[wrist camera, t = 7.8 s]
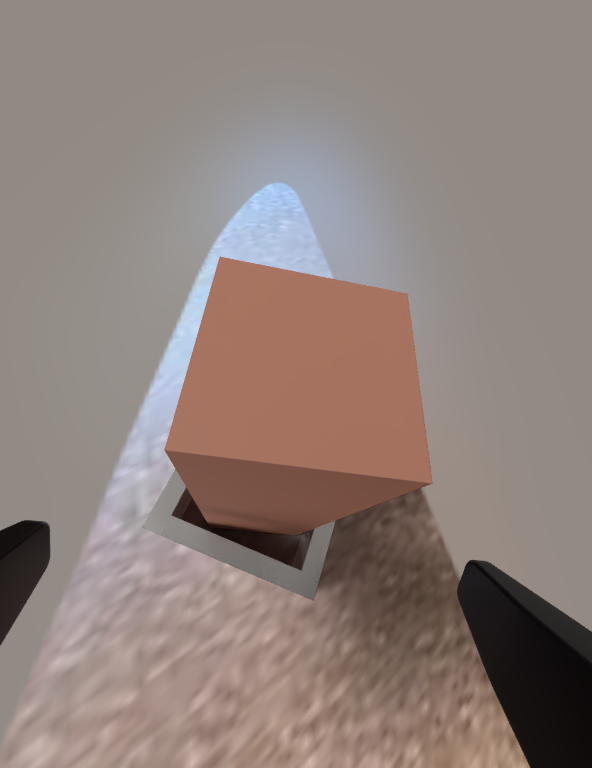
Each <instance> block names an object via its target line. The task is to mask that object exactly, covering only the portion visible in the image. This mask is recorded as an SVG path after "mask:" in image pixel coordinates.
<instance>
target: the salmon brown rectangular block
mask: <svg viewBox="0 0 592 768" xmlns="http://www.w3.org/2000/svg"><path fill="white" fill-rule="evenodd" d="M165 452H166V453H167V455H168V457H169V458H170V460H171V462H172V464H173V465H174V467H175V469H176V470H177V472H178V474H179V475H180V477H181V479H182V481H183V482H184V484H185V486H186V487H187V489H188V491H189V492H190V494H191V496H192V498H193V499H194V501H195V503H196V504H197V506H198V508H199V509H200V511H201V513H202V515H203V516H204V518H205V520H206V521H207V523H208V525H209V526H210V528H220V529H230V530H240V531H250V532H261V533H271V534H281V535H291V536H297V535H299V534H302V533H304V532H307V531H310V530H312V529H315V528H317V527H320V526H323V525H325V524H328V523H330V522H333V521H336V520H338V519H341V518H343V517H346V516H349V515H351V514H354V513H357V512H359V511H362V510H364V509H367V508H370V507H372V506H375V505H377V504H380V503H383V502H385V501H388V500H390V499H393V498H396V497H398V496H401V495H403V494H406V493H409V492H411V491H414V490H417V489H419V488H422V487H424V486H427V485H429V484H432V477H431V470H430V462H429V454H428V446H427V439H426V431H425V424H424V416H423V408H422V401H421V394H420V386H419V378H418V370H417V363H416V354H415V347H414V339H413V332H412V324H411V317H410V309H409V301H408V294H406V293H401V292H396V291H391V290H386V289H381V288H376V287H371V286H366V285H361V284H355V283H350V282H345V281H340V280H335V279H330V278H325V277H320V276H315V275H310V274H305V273H300V272H295V271H289V270H284V269H279V268H274V267H269V266H264V265H259V264H254V263H249V262H244V261H239V260H234V259H229V258H224V257H220V258H219V261H218V265H217V268H216V272H215V275H214V279H213V282H212V286H211V289H210V293H209V296H208V300H207V303H206V307H205V310H204V314H203V317H202V321H201V324H200V328H199V331H198V335H197V338H196V342H195V345H194V349H193V352H192V356H191V359H190V363H189V366H188V370H187V373H186V377H185V380H184V384H183V387H182V391H181V394H180V398H179V401H178V405H177V408H176V412H175V415H174V419H173V422H172V426H171V429H170V433H169V436H168V440H167V443H166V447H165Z"/></svg>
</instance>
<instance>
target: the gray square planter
mask: <svg viewBox="0 0 592 768" xmlns="http://www.w3.org/2000/svg"><path fill="white" fill-rule="evenodd" d="M191 499H192V496H191V494H190V492H189V491H188V489H187V487H186V486H185V484H184V482H183V481H182V479H181V477H180V475H179V474H178V472H177V470H176V469H175V471H174V473H173V474H172V476H171V478H170V480H169V481H168V483H167V485H166V487H165V489H164V490H163V492H162V494H161V496H160V497H159V499H158V501H157V503H156V504H155V506H154V508H153V510H152V511H151V513H150V515H149V517H148V518H147V520H146V522H145V524H144V525H143V527H142V528H144V529H147V530H149V531H152V532H154V533H156V534H159V535H161V536H163V537H166V538H168V539H170V540H173V541H175V542H177V543H180V544H182V545H184V546H187V547H189V548H191V549H194V550H196V551H198V552H201V553H203V554H206V555H208V556H210V557H213V558H215V559H217V560H220V561H222V562H224V563H227V564H229V565H231V566H234V567H236V568H238V569H241V570H243V571H245V572H248V573H250V574H252V575H255V576H257V577H260V578H262V579H264V580H267V581H269V582H271V583H274V584H276V585H278V586H281V587H283V588H285V589H288V590H290V591H292V592H295V593H297V594H299V595H302V596H304V597H306V598H309V599H311V600H314V598H315V594H316V590H317V587H318V583H319V579H320V576H321V572H322V568H323V565H324V561H325V557H326V554H327V550H328V546H329V543H330V539H331V535H332V532H333V528H334V524H335V521H333V522H330V523H328V524H325V525H323V526H320V527H317V528H315V529H312V530H310V531H307V532H304V533H303V534H302V537H301V540H300V543H299V546H298V549H297V552H296V556H295V559H294V562H293V565H292V567H291V566H289V565H287V564H284V563H282V562H280V561H277V560H275V559H273V558H270V557H268V556H265V555H263V554H261V553H258V552H256V551H254V550H251V549H249V548H247V547H244V546H242V545H240V544H237V543H235V542H232V541H230V540H228V539H225V538H223V537H221V536H218V535H216V534H214V533H211V532H209V531H207V530H204V529H202V528H199V527H197V526H195V525H192V524H190V523H188V522H185V521H183V520H181V519H182V517H183V515H184V513H185V511H186V509H187V507H188V505H189V503H190V501H191Z"/></svg>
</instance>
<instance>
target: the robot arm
mask: <svg viewBox="0 0 592 768" xmlns="http://www.w3.org/2000/svg"><path fill="white" fill-rule="evenodd" d="M49 560H50V527H49V524H48V523H46V522H43V521H32V520H24V521H21V522H18V523H16V524H14V525H12V526H10V527H7V528H5V529H3V530H1V531H0V645H1V644H2V642H3V640H4V639H5V637H6V635H7V634H8V632H9V630H10V629H11V627H12V625H13V624H14V622H15V620H16V619H17V617H18V615H19V613H20V612H21V610H22V609H23V607H24V605H25V604H26V602H27V600H28V599H29V597H30V595H31V594H32V592H33V590H34V588H35V587H36V585H37V584H38V582H39V580H40V578H41V577H42V575H43V573H44V572H45V570H46V568H47V566H48V563H49ZM457 594H458V599H459V602H460V605H461V608H462V610H463V613H464V616H465V618H466V621H467V623H468V626H469V629H470V631H471V634H472V636H473V639H474V642H475V644H476V647H477V650H478V652H479V655H480V657H481V660H482V663H483V665H484V668H485V670H486V673H487V675H488V678H489V680H490V682H491V684H492V687H493V689H494V691H495V693H496V696H497V698H498V700H499V702H500V704H501V706H502V708H503V711H504V713H505V715H506V717H507V719H508V721H509V723H510V725H511V728H512V730H513V732H514V734H515V736H516V738H517V740H518V743H519V745H520V747H521V749H522V751H523V753H524V755H525V757H526V760H527V762H528V764H529V766H530V768H592V632H591V631H589V630H588V629H587V628H585V627H584V626H582V625H581V624H579V623H578V622H576V621H575V620H574V619H572V618H571V617H569V616H568V615H566V614H564V613H563V612H562V611H560V610H559V609H557V608H556V607H554V606H553V605H551V604H550V603H548V602H547V601H545V600H544V599H542V598H541V597H539V596H538V595H537V594H535V593H533V592H532V591H530V590H529V589H528V588H526V587H525V586H523V585H522V584H520V583H519V582H517V581H516V580H514V579H513V578H512V577H510V576H509V575H507V574H505V573H504V572H503V571H501V570H500V569H498V568H497V567H495V566H494V565H492V564H491V563H489V562H486V561H478V560H470V561H469V562H468V563H467V564H466V566H465V569H464V572H463V574H462V577H461V580H460V582H459V585H458V589H457Z"/></svg>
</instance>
